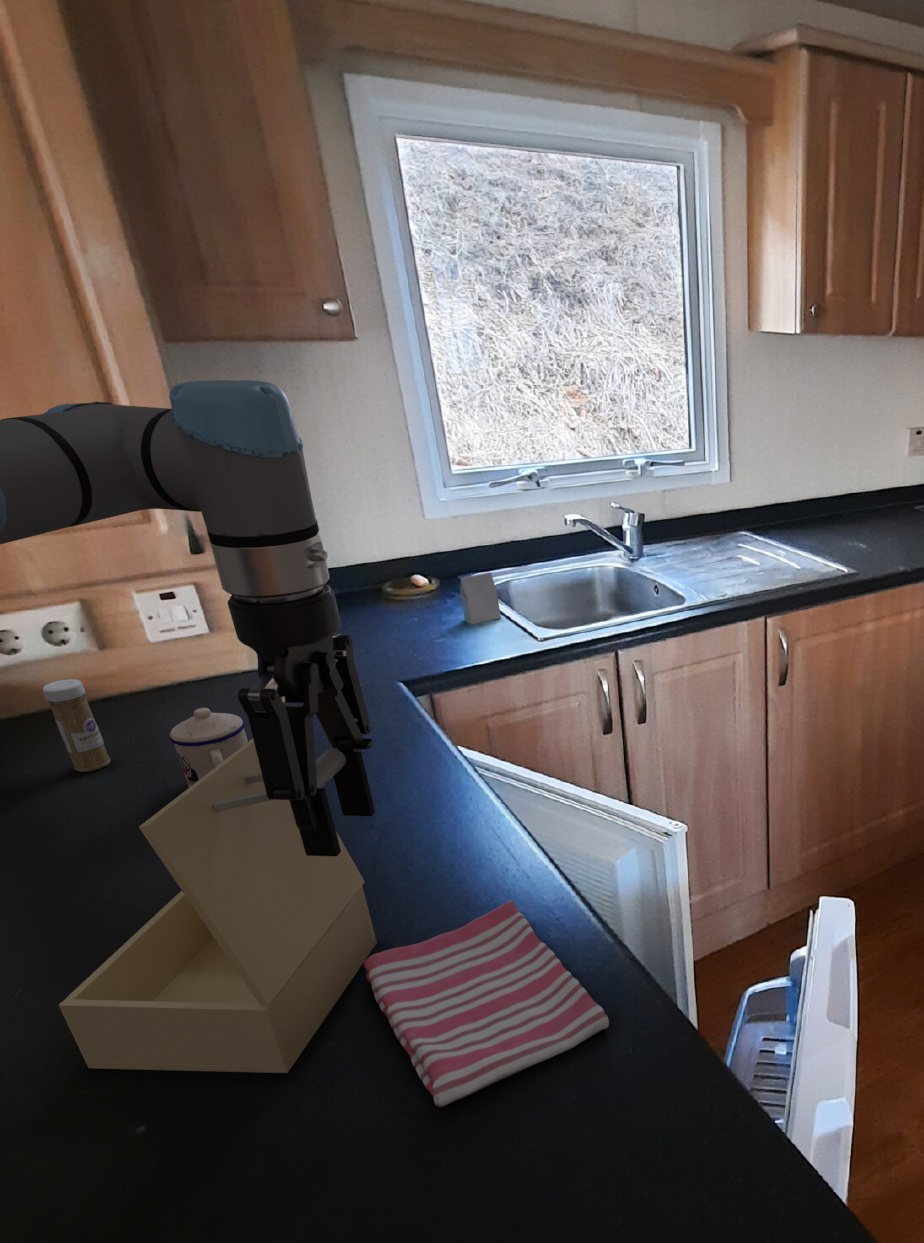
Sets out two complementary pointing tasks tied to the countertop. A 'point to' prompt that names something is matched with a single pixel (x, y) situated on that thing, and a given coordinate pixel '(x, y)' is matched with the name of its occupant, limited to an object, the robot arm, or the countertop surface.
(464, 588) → the grey block
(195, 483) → the robot arm
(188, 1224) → the countertop surface
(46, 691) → the sprinkles bottle
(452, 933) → the dish towel
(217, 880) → the bin lid
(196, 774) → the teacup with lid
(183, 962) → the beige square open box
